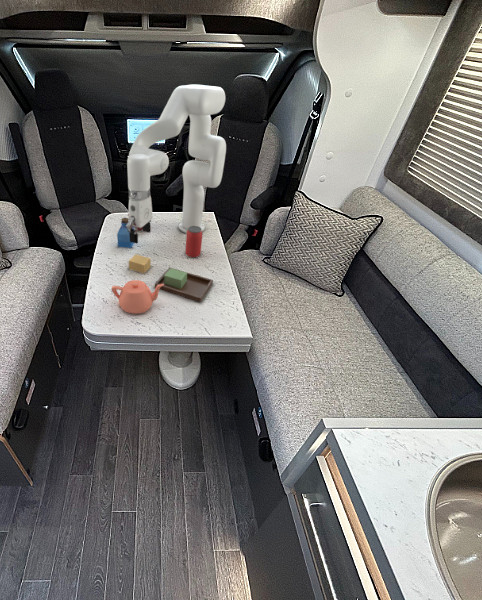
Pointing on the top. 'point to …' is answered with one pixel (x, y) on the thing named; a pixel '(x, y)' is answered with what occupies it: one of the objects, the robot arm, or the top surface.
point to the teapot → (136, 296)
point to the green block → (175, 278)
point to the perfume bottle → (124, 235)
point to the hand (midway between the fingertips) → (140, 236)
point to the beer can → (193, 241)
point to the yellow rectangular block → (139, 263)
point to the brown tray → (188, 287)
